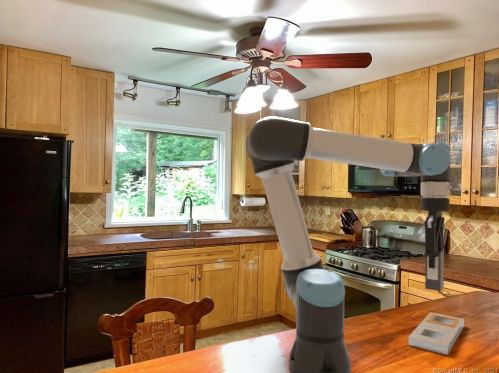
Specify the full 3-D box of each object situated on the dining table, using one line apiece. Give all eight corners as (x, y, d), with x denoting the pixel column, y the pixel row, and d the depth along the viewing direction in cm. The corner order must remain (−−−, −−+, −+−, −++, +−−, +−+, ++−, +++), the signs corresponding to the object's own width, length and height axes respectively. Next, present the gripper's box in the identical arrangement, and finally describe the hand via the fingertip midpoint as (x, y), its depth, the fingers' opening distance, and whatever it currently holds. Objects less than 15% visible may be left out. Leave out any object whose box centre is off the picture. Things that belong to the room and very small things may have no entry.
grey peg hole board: (408, 345, 107) (408, 335, 107) (430, 319, 127) (430, 311, 127) (447, 355, 101) (447, 345, 101) (463, 326, 121) (464, 318, 121)
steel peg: (425, 288, 109) (425, 250, 109) (428, 285, 112) (429, 248, 112) (440, 291, 106) (440, 252, 106) (443, 288, 109) (443, 250, 109)
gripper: (442, 198, 100) (442, 286, 100) (455, 196, 113) (454, 274, 113) (413, 197, 104) (412, 281, 105) (428, 196, 118) (428, 270, 118)
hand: (434, 277), depth 109 cm, fingers closed on steel peg, 4 cm apart
